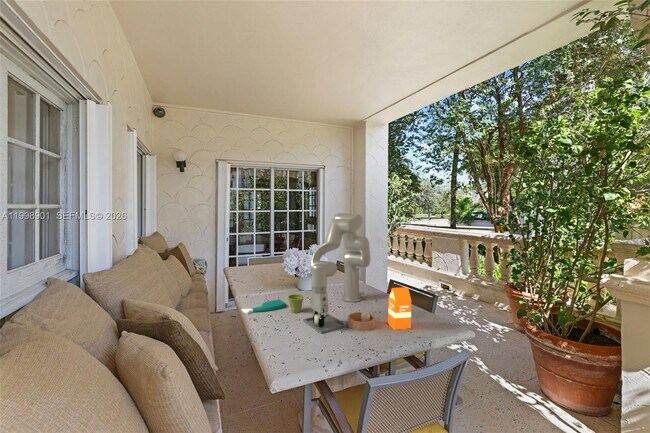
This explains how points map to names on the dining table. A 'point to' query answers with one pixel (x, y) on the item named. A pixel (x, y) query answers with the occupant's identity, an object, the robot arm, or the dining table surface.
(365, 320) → the pebble
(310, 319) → the parts tray
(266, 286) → the dining table surface
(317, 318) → the pebble
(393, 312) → the orange juice
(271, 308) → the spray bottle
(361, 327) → the bowl
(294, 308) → the plant pot
